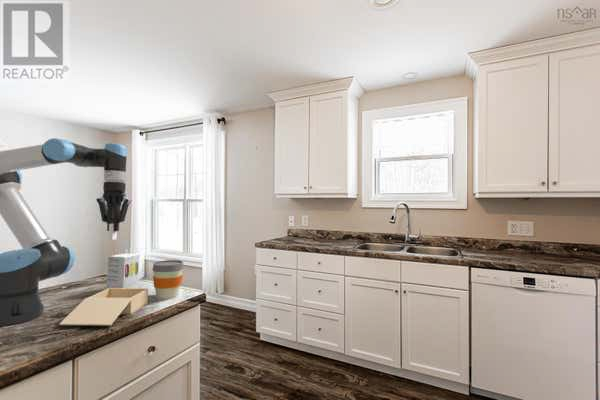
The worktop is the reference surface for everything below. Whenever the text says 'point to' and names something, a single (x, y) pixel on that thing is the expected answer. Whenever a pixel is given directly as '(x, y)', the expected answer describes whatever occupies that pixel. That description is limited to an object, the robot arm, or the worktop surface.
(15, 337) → the worktop surface
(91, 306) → the lid
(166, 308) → the worktop surface
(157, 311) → the worktop surface
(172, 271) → the reusable coffee cup
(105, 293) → the mailer
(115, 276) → the supplement box
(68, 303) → the worktop surface
